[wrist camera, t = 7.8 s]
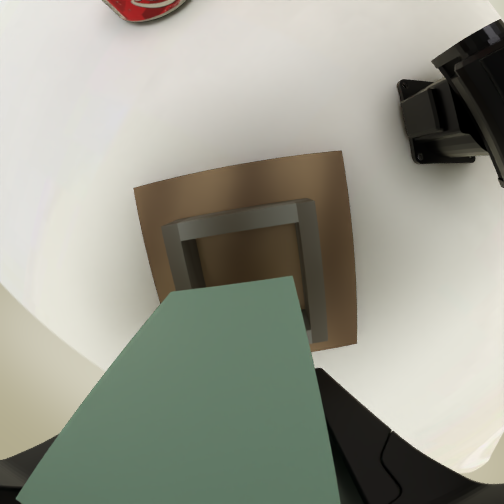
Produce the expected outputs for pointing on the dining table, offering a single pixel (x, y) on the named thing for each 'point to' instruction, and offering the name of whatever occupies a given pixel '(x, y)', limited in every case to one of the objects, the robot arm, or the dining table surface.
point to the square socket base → (259, 235)
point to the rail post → (200, 410)
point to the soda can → (142, 8)
